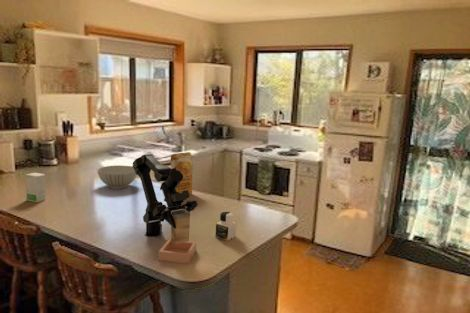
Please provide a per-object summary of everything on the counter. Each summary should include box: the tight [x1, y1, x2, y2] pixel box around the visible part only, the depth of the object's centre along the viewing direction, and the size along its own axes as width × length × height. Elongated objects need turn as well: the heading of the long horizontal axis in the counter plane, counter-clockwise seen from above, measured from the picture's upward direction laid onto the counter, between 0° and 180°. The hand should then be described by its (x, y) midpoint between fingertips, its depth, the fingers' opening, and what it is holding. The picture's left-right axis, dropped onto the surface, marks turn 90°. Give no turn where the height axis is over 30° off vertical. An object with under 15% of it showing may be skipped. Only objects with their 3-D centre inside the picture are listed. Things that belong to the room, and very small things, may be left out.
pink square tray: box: [158, 238, 197, 265], centre depth 151 cm, size 12×12×4 cm
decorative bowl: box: [96, 164, 138, 190], centre depth 246 cm, size 27×27×12 cm
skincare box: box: [25, 172, 46, 203], centre depth 209 cm, size 8×7×16 cm
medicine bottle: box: [215, 211, 237, 241], centre depth 173 cm, size 7×7×12 cm
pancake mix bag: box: [170, 151, 194, 196], centre depth 234 cm, size 7×19×28 cm, turn 136°
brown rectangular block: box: [170, 209, 191, 244], centre depth 149 cm, size 5×6×12 cm
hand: (182, 226), depth 148 cm, fingers closed on brown rectangular block, 6 cm apart
